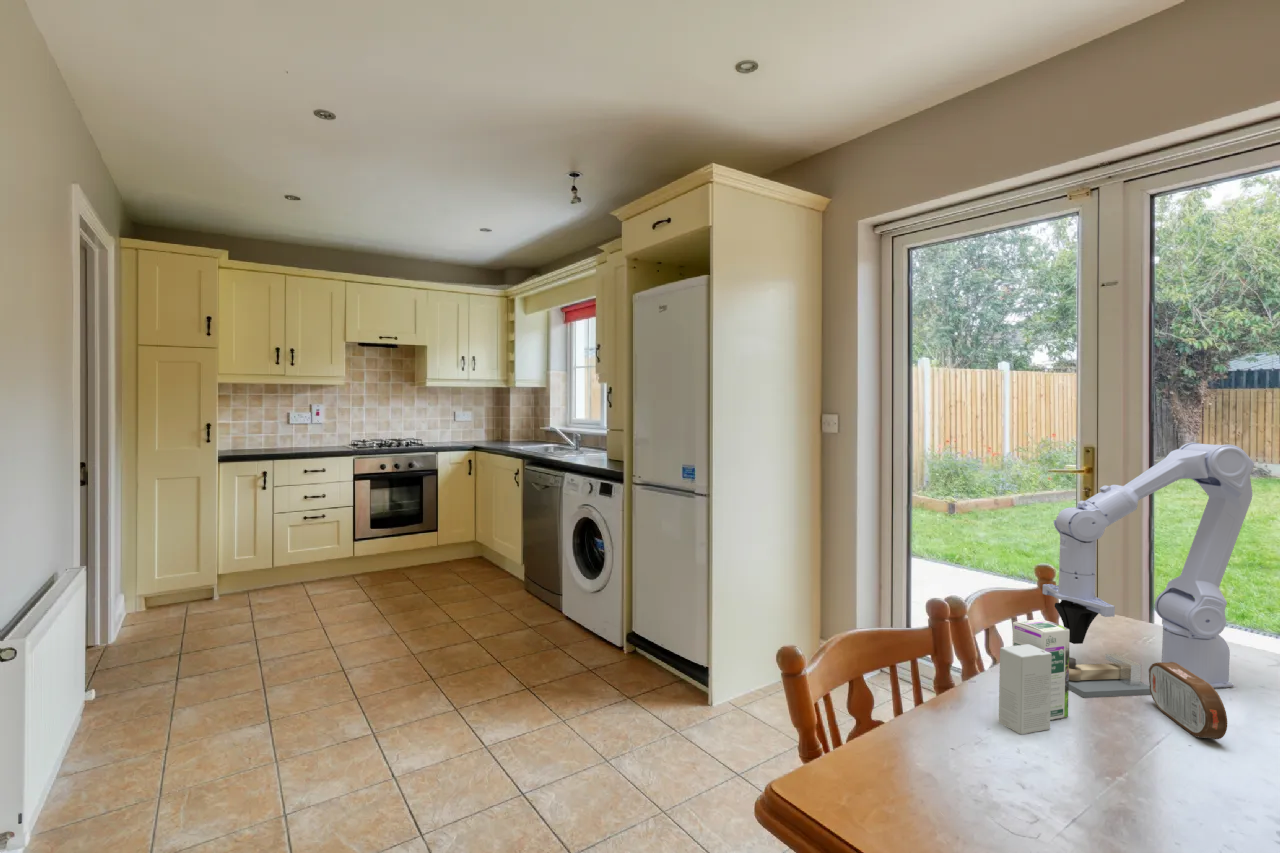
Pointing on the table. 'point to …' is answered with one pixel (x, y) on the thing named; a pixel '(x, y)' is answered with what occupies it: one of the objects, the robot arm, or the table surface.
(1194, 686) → the tin
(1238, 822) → the table surface
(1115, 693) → the slate board
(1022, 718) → the skincare box
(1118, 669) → the beech link
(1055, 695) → the syrup box
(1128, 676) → the steel keeper
